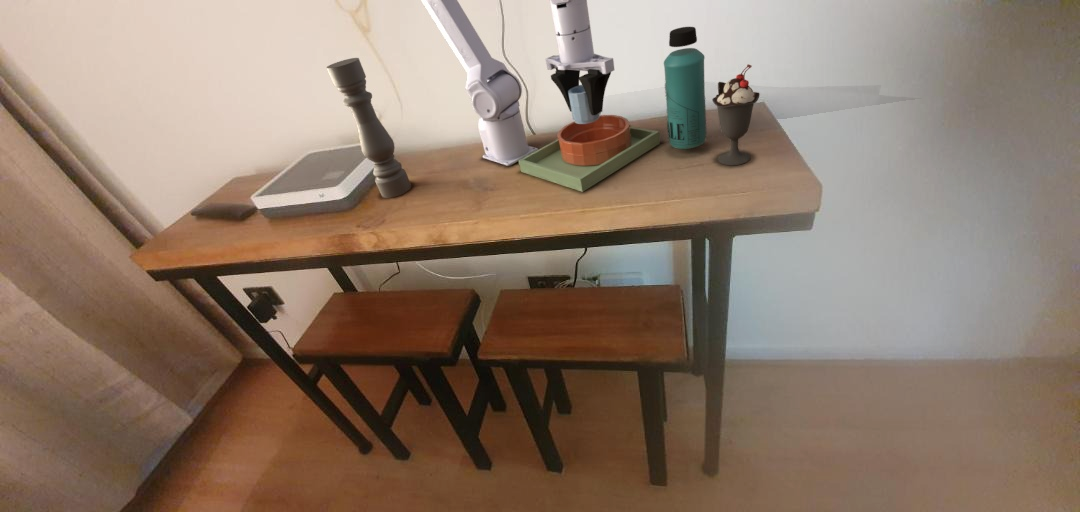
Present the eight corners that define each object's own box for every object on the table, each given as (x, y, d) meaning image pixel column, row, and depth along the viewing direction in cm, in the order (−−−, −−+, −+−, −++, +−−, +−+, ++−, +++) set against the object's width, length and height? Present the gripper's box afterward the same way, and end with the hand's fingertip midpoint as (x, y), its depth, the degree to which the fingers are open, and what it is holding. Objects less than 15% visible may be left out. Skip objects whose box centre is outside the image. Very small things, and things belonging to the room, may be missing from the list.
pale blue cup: (567, 122, 87) (562, 92, 84) (587, 112, 90) (582, 82, 87) (586, 126, 84) (581, 95, 81) (606, 115, 86) (602, 84, 83)
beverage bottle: (711, 142, 85) (711, 20, 74) (700, 158, 81) (697, 32, 70) (675, 140, 88) (669, 24, 77) (662, 156, 84) (654, 36, 73)
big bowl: (548, 161, 93) (543, 137, 90) (595, 135, 99) (592, 111, 96) (598, 175, 84) (593, 148, 81) (646, 145, 89) (644, 119, 87)
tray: (521, 171, 92) (518, 160, 90) (594, 130, 101) (593, 119, 99) (582, 192, 80) (580, 179, 78) (659, 143, 89) (659, 131, 88)
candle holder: (384, 201, 94) (326, 70, 80) (378, 190, 99) (323, 66, 85) (414, 189, 95) (362, 59, 81) (407, 179, 100) (357, 55, 86)
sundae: (760, 165, 75) (765, 67, 66) (714, 169, 77) (714, 74, 68) (753, 148, 80) (757, 54, 72) (710, 152, 82) (710, 61, 73)
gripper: (527, 37, 82) (543, 114, 89) (587, 38, 72) (599, 125, 79) (557, 25, 85) (570, 101, 92) (618, 24, 75) (628, 109, 82)
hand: (585, 111), depth 86 cm, fingers closed on pale blue cup, 5 cm apart
